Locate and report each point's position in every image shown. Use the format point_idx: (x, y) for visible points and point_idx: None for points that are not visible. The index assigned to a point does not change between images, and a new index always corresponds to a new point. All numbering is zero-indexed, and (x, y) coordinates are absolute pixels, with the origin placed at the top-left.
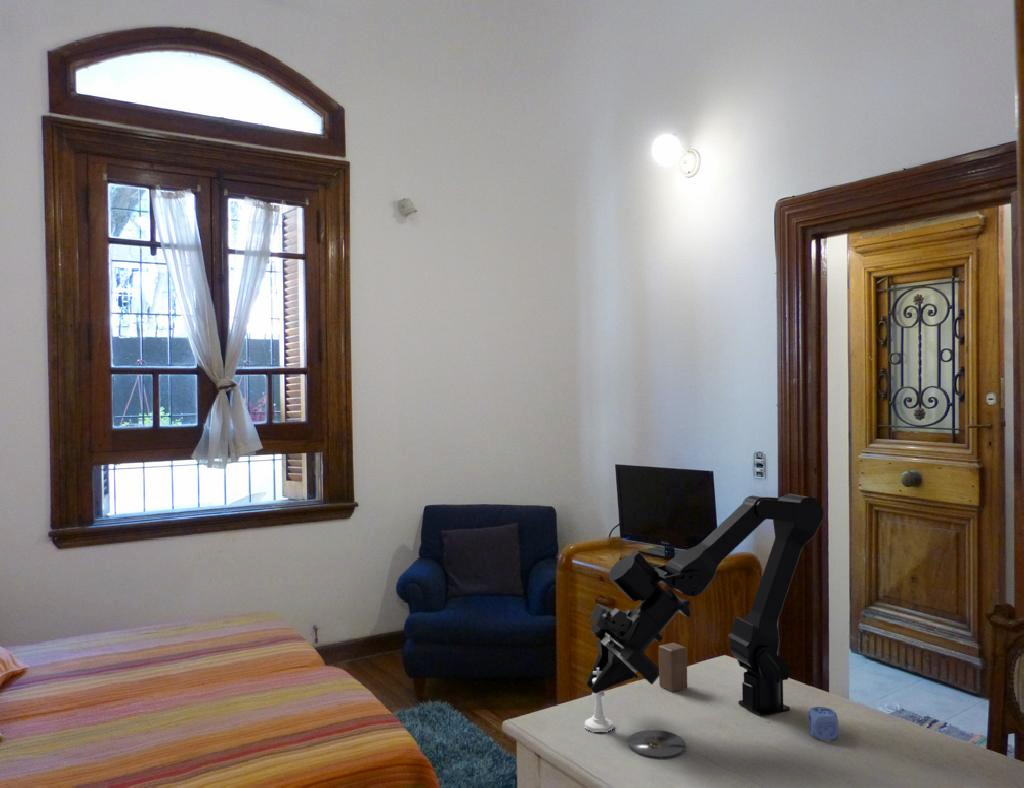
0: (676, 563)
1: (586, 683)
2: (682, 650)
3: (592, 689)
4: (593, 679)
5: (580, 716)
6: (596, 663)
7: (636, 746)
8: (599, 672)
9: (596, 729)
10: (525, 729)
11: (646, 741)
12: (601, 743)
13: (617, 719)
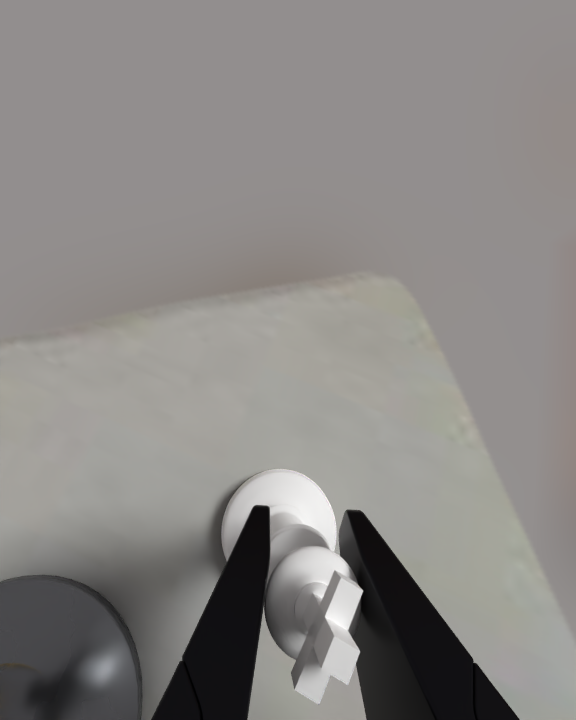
0: None
1: (362, 512)
2: None
3: (252, 511)
4: (316, 558)
5: (391, 497)
6: (473, 704)
7: (7, 602)
8: (312, 649)
9: (233, 498)
10: (339, 287)
11: (23, 679)
12: (146, 478)
13: None
